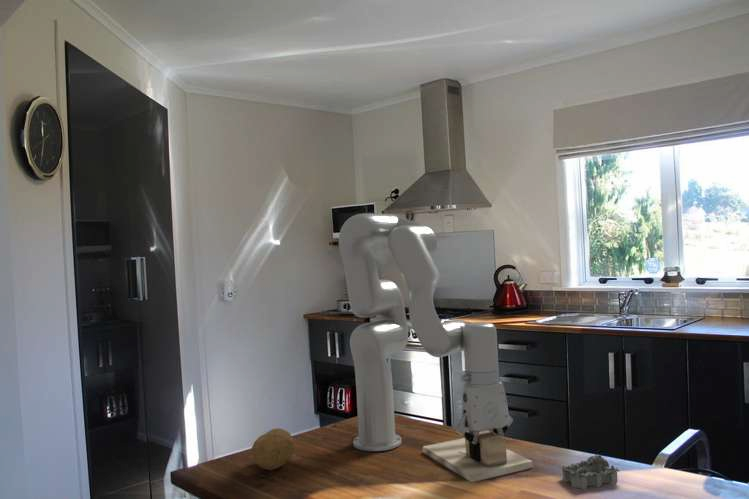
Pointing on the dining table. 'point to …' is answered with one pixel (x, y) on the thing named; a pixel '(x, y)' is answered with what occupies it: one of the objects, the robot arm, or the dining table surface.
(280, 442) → the potato
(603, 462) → the egg carton
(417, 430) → the dining table surface
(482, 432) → the block
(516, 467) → the board
